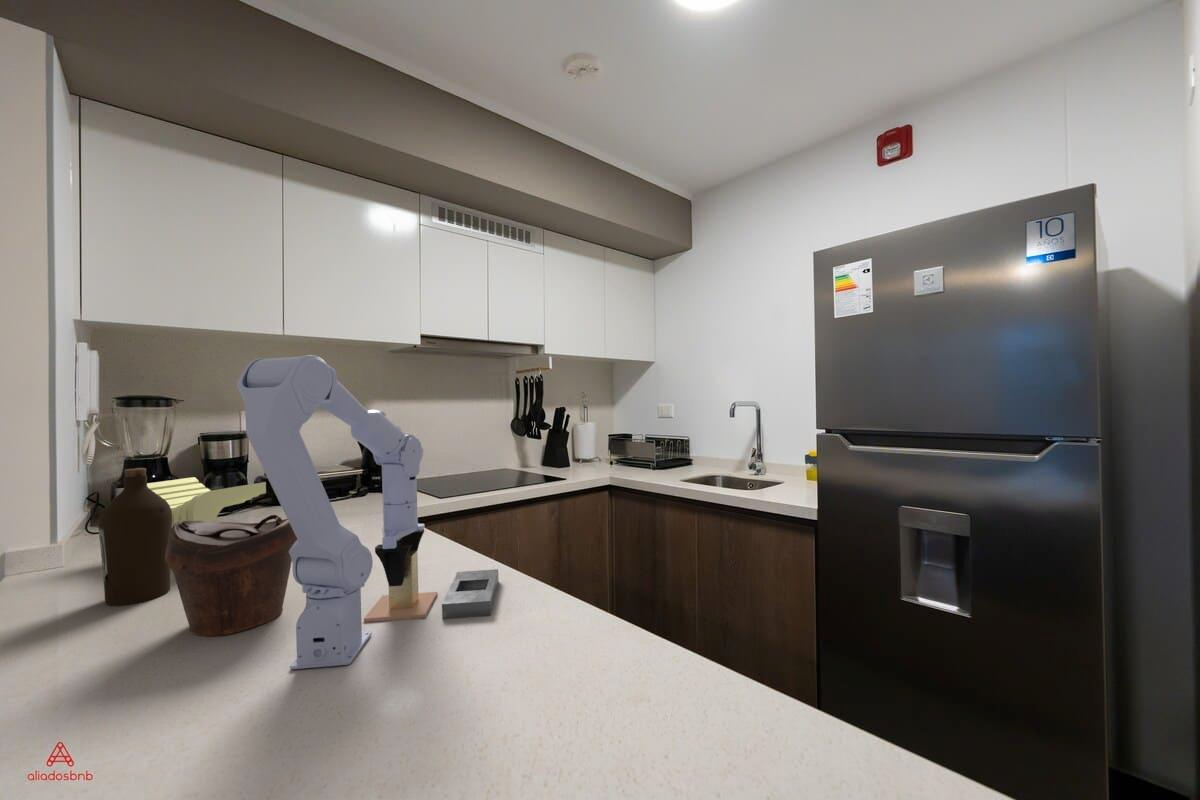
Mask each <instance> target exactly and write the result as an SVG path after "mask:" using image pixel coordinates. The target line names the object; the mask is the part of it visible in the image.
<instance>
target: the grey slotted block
mask: <svg viewBox="0 0 1200 800" xmlns="http://www.w3.org/2000/svg"><path fill="white" fill-rule="evenodd" d="M499 579H500V578H499V569H485V570H484V569H483V570H481V569H480V570H467V571H466V570H465V571H457V572H456V575H455V577H454V579H453V581H452V582H451V585H450V587H449V589H448V591H447V593H446V595H445V597H444V599H443V601H442V604H441V617H442V618H441V619H442V620H447V619H457V618H459V619H461V618H472V617H473V618H474V617H487V616H491V615H492V610H493V608H494V603H495V599H496V594H497V590H498V585H499Z"/></svg>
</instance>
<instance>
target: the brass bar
mask: <svg viewBox="0 0 1200 800" xmlns="http://www.w3.org/2000/svg"><path fill="white" fill-rule="evenodd" d="M418 558H419V557H418V551H417V550H411V551H409V553H408V556H407V560H406V565H405V574H404V581H403V584H402V585H401V586H389V584H388V583H387V584H388V595H389V610H393V609H408V608H413V607H414V606H415V604H416V602H417V601H418V599H419V593H420V592H419V563H418V560H419V559H418Z"/></svg>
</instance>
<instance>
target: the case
mask: <svg viewBox="0 0 1200 800" xmlns="http://www.w3.org/2000/svg"><path fill="white" fill-rule="evenodd" d="M271 520H272V521H271ZM273 520H274V521H273ZM296 541H297V537H296V535H295V533H294V531H293V529H292V527H291V525H290V523H289V521H288V519H287V518H286V519H283V518H282V517H281V516H279V515H276V514H271V515H269V516H266V517H265V518H262V519H261V521H260V522H251V523H249V522H248V523H247V522H237V521H236V522H235V521H233V522H231V521H228V522H227V521H215V522H209V521H196V520H185V521H180V522H177V523H176V524H175V525H174V526H173V527H172V528H171V530H170V533H169V538H168V543H167V548H166V555H165V561H166V563H168V564H169V565H170V568H171V569H172V573H173V576H174V579H175V582H176V586H177V590H178V592H179V596H180V599H181V603H182V607H183V610H184V613H185V617H186V619H187V624H188V626H189V630H190V632H191V633H192V634H195V635H197V636H202V637H203V636H204V637H205V636H206V637H214V636H215V637H216V636H226V635H228V636H229V635H233V634H236V633H241V632H245V631H247V630H250V629H253V628H257V627H259V626H261V625H264V624H266V623H269V622H270V621H273V620H275V619H276V618H277V617H279V616H280V615H281V614H282V613H283V610H284V602H285V598H286V597H285V596H286V591H287V586H288V581H289V577H290V574H291V573H290V572H291V568H292V567H291V566H292V564H293V563H292V558H291V556H290V554H289V550H290V549H291V547H292V546H293V544H294V543H295V542H296Z"/></svg>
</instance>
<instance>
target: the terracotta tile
mask: <svg viewBox="0 0 1200 800" xmlns="http://www.w3.org/2000/svg"><path fill="white" fill-rule="evenodd" d="M418 593H419V599H418V601H417V602H416V604H415V606H414V607H413V608H408V609H393V610H389V594H387V595H386V594H385V595H383V594H382V595H381V596H380V598H379V599H378V600H377V602H376V603H375V604H374V605H373V607H372V608H371V609H370V610H369V612H367V614H366V615H365V616H364V618H363V623H370V622H382V621H383V622H386V621H397V620H398V621H400V620H412V619H413V620H414V619H425V618H426V617H427V616H428V614H429V611H430V610H431V608H432V606H433V604H434V602H435V601H436V599H437V597H438V591H429V592H428V591H427V592H418Z"/></svg>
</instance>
